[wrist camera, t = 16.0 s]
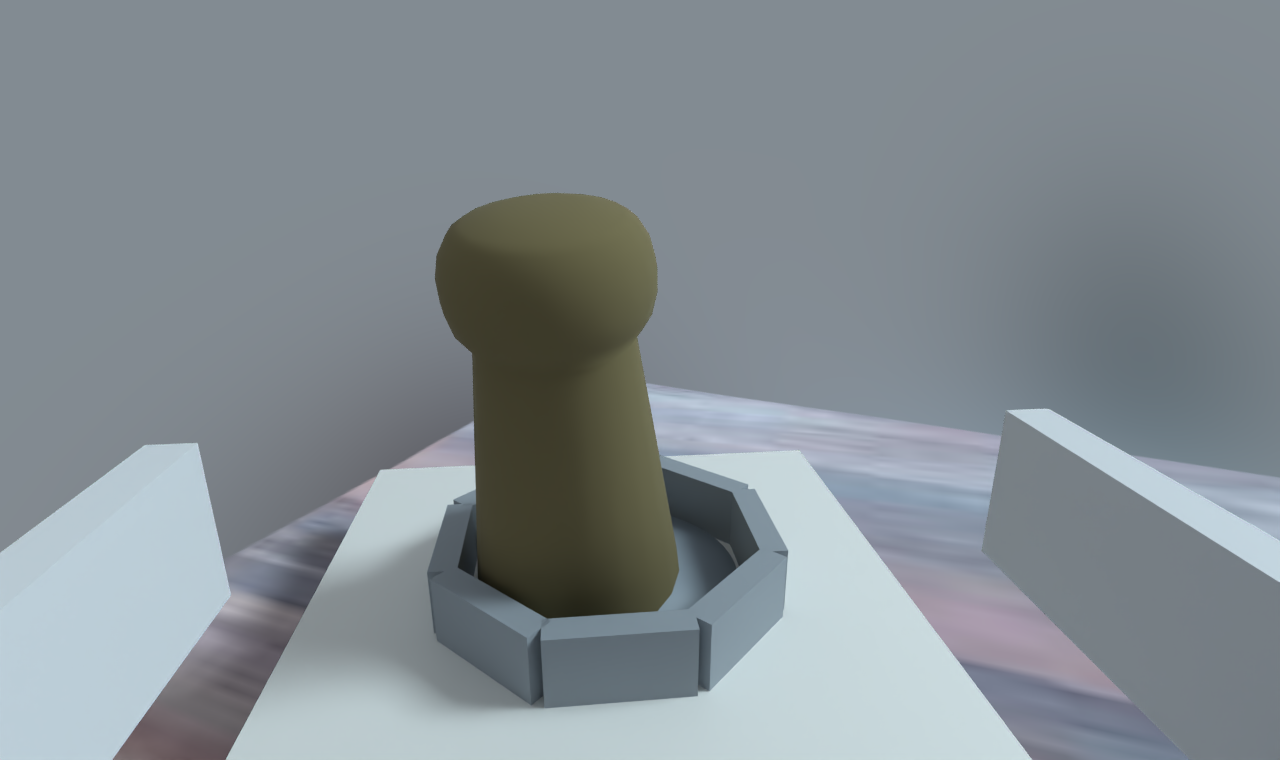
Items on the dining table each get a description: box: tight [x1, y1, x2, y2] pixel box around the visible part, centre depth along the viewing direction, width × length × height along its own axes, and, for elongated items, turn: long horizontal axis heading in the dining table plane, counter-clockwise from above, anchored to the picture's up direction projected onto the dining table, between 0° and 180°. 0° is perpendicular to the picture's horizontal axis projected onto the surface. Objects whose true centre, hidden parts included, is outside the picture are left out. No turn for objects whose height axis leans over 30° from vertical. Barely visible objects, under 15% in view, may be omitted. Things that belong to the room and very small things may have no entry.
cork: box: [435, 193, 679, 619], centre depth 19 cm, size 6×6×11 cm
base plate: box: [226, 450, 1032, 760], centre depth 23 cm, size 18×18×5 cm
